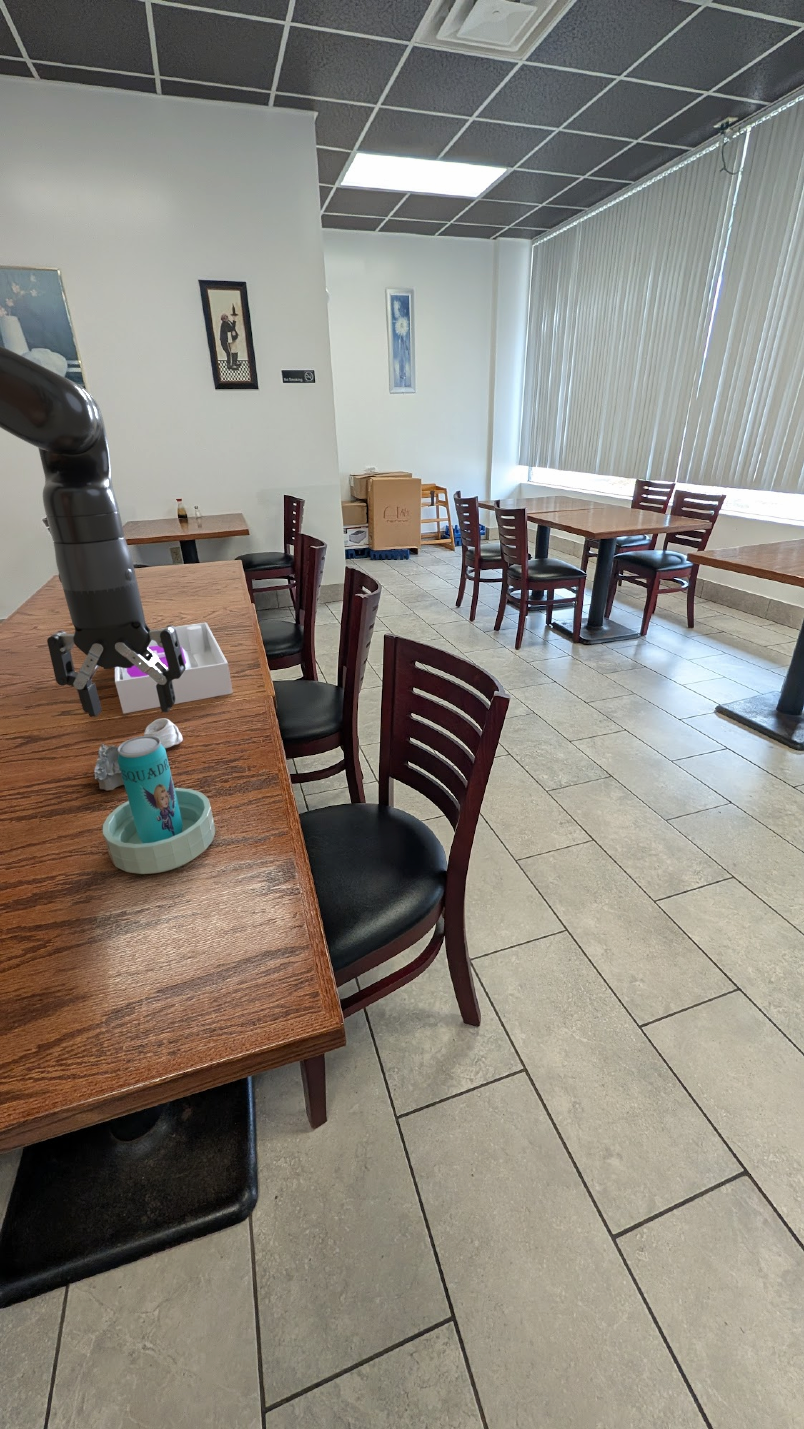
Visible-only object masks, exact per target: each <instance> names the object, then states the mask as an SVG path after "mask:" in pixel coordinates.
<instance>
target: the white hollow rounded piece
mask: <svg viewBox="0 0 804 1429" xmlns="http://www.w3.org/2000/svg"><path fill="white" fill-rule="evenodd" d="M143 736H155V737H158V738H159V739H160V740H161V745H162V746H163V747H164V748H165V749H169V748H172V747H173V746H177V745H180V744H181V743H182V742H183V740H184V739H183V735H182V733H181V731H180V730H179V728H178V726H177V725H176V724H174V723H173V722H172V721H171V720H170V719H168V718H166V717H165V718H164V717H163V718H157V719H155V720H153V721H152V722H151V723H149V724H148V725H147V726H146V728H145V730H144V733H143Z"/></svg>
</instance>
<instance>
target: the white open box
mask: <svg viewBox="0 0 804 1429" xmlns="http://www.w3.org/2000/svg"><path fill="white" fill-rule="evenodd" d="M174 627H175V629H176V632H177V636H178V640H179V644H180V647H181V651H182V655H183V659H184V663H185V667H186V669H185V671H184V672H183V674H182V675H181V677H180V678H178V679H173V680H172V684H173V689H174V694H175V703H174V705H177V704H182V703H183V704H184V703H188V702H194V701H199V700H204V699H210V698H215V697H221V696H227V695H230V694H234V690H233V684H232V679H231V678H232V677H231V672H230V665H229V663H228V660H227V658H226V657H225V655H224V653H223V651H222V649H221V647H220V645H219V643H218V641H217V639H216V638H215V636H214V634H213V632H212V630H211V628H210V626H209V624H208V622H199V623H192V624H185V625H177V626H174ZM164 628H165V627H164ZM164 628H162V629H164ZM148 648H149V649H150V650H151V651H152V652H154V653H155V654H156V655H157V656H158V657H159V660H160V661H161V662H162V663H163V664H164V665H165V666H166V667H167V668H168V664H167V660H166V657H165V653H164V649H163V648H161V647H159V646H158V644H157V643H156V641H154V640H151V642H150V644H149V646H148ZM114 684H115V687H116V691H117V695H118V698H119V699H118V700H119V702H120V706H121V710H122V713H123V714H129V713H135V712H139V711H140V712H141V711H145V710H146V711H147V710H151V709H157V708H161V707H160V702H159V698H158V693H157V689H156V685H157V684H158V683H157V682H156V681H155V680H153V679H152V678H151V677H150V676H149V675H148V674H146V673H143V672H142V671H141V670H139V669H138V668H137V667H136V666H135V665H134V666H132V667H131V668H121V667H115V668H114Z"/></svg>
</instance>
